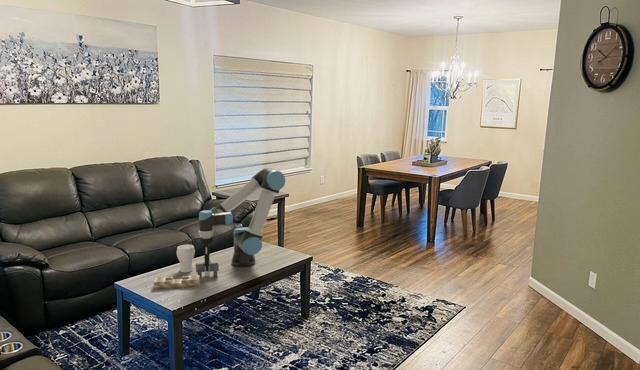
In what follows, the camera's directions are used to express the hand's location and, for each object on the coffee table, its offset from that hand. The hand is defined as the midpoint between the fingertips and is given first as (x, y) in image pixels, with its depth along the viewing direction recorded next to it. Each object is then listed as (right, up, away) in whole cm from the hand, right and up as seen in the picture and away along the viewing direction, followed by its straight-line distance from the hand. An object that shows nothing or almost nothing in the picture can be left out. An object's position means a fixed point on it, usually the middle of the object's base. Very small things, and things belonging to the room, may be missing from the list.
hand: (207, 274), depth 275 cm
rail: (-13, -3, -15) cm, 20 cm away
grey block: (0, 0, 0) cm, 1 cm away
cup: (-15, +1, +9) cm, 18 cm away
